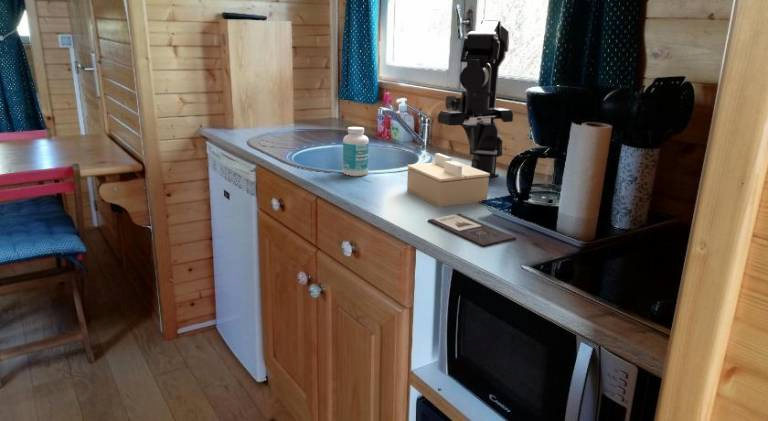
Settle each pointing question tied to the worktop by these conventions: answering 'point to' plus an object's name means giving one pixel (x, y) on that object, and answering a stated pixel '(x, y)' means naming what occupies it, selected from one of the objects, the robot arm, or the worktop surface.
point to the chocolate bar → (472, 230)
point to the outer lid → (439, 171)
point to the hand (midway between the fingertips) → (473, 151)
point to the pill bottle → (355, 152)
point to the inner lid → (466, 170)
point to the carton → (447, 189)
